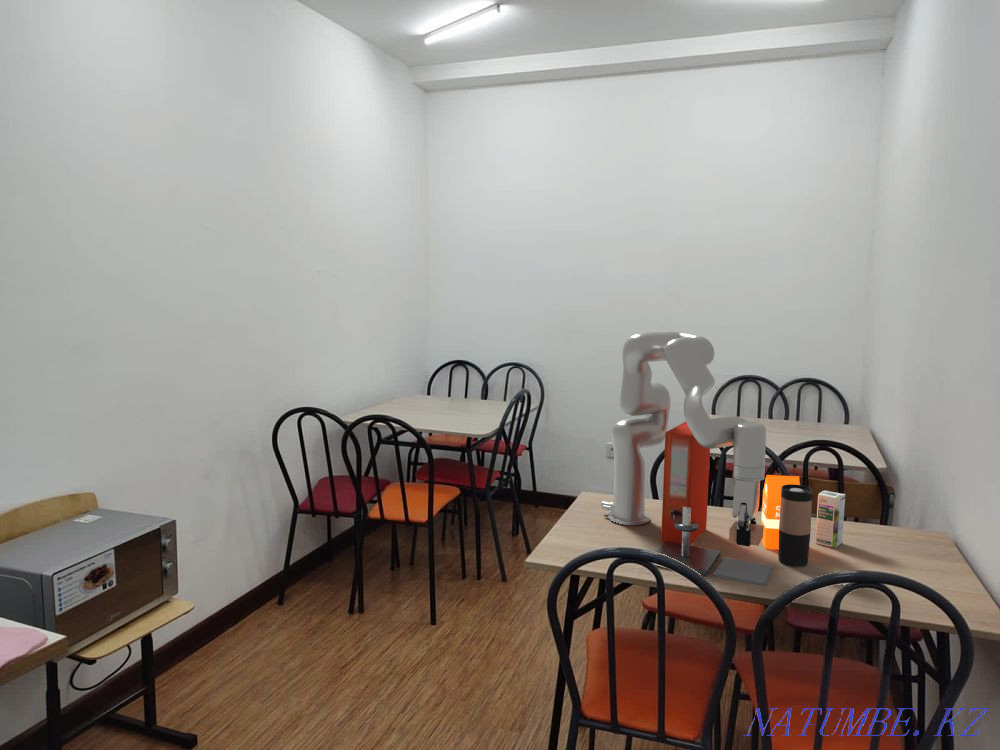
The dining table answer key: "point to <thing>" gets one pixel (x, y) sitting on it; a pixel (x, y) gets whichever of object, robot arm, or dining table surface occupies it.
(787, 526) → the travel mug
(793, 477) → the orange juice
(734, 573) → the mat
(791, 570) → the dining table surface
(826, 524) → the syrup box
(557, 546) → the dining table surface
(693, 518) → the file binder
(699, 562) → the stand
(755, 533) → the collar
